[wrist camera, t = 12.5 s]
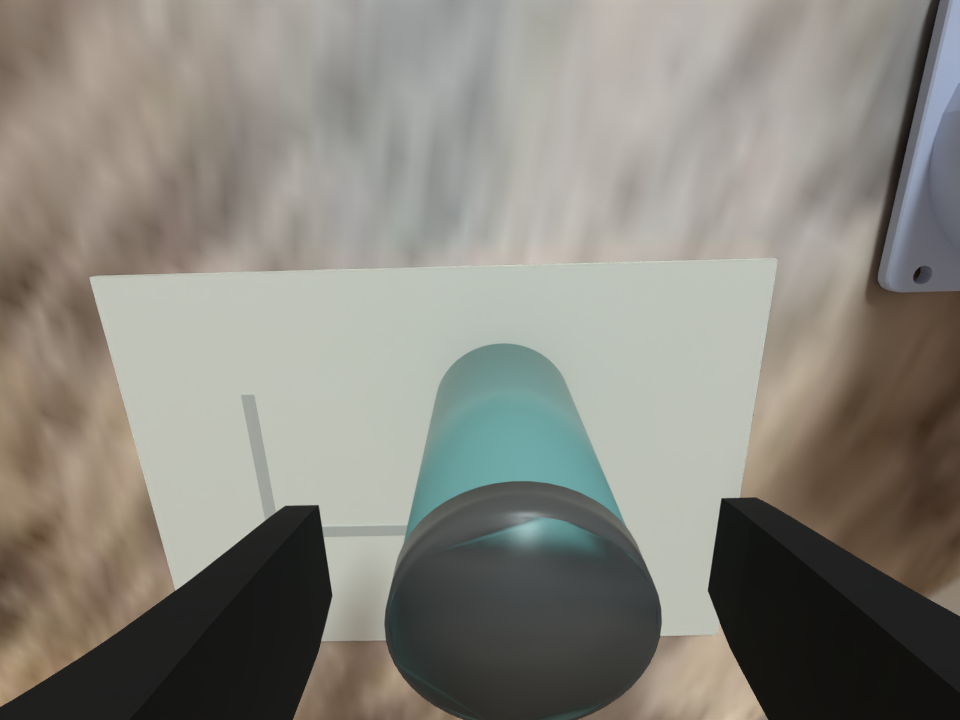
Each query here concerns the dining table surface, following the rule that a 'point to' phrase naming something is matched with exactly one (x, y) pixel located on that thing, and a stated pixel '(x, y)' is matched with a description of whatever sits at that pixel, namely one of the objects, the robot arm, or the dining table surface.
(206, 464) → the paper pad
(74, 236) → the dining table surface
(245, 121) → the dining table surface
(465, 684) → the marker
